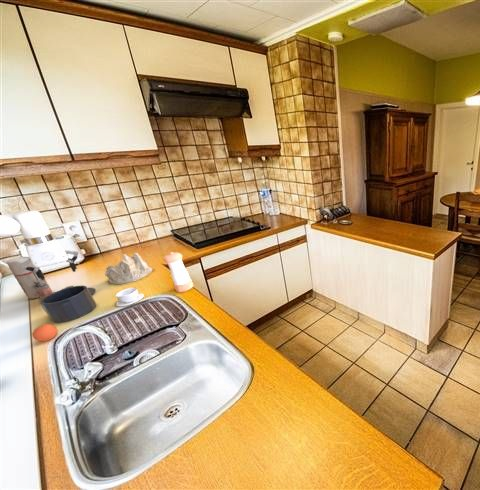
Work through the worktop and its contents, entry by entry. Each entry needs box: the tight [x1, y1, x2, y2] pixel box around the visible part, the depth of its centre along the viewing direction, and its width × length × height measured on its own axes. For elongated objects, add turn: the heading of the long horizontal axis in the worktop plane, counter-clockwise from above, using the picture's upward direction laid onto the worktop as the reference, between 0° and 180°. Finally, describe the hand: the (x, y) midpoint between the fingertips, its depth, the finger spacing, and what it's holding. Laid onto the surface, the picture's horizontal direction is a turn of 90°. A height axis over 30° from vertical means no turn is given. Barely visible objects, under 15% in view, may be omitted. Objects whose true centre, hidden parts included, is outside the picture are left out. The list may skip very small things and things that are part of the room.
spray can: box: [6, 256, 53, 300], centre depth 126 cm, size 8×8×20 cm
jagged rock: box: [104, 252, 154, 285], centre depth 140 cm, size 16×16×15 cm
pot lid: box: [65, 285, 97, 296], centre depth 124 cm, size 15×15×6 cm
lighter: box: [32, 280, 53, 301], centre depth 124 cm, size 8×3×10 cm, turn 73°
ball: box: [31, 323, 59, 342], centre depth 98 cm, size 6×6×6 cm
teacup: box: [115, 287, 145, 307], centre depth 120 cm, size 10×10×5 cm
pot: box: [39, 285, 98, 324], centre depth 113 cm, size 14×19×10 cm
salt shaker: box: [163, 251, 194, 293], centre depth 125 cm, size 7×7×19 cm
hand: (59, 274), depth 120 cm, fingers open, 9 cm apart
